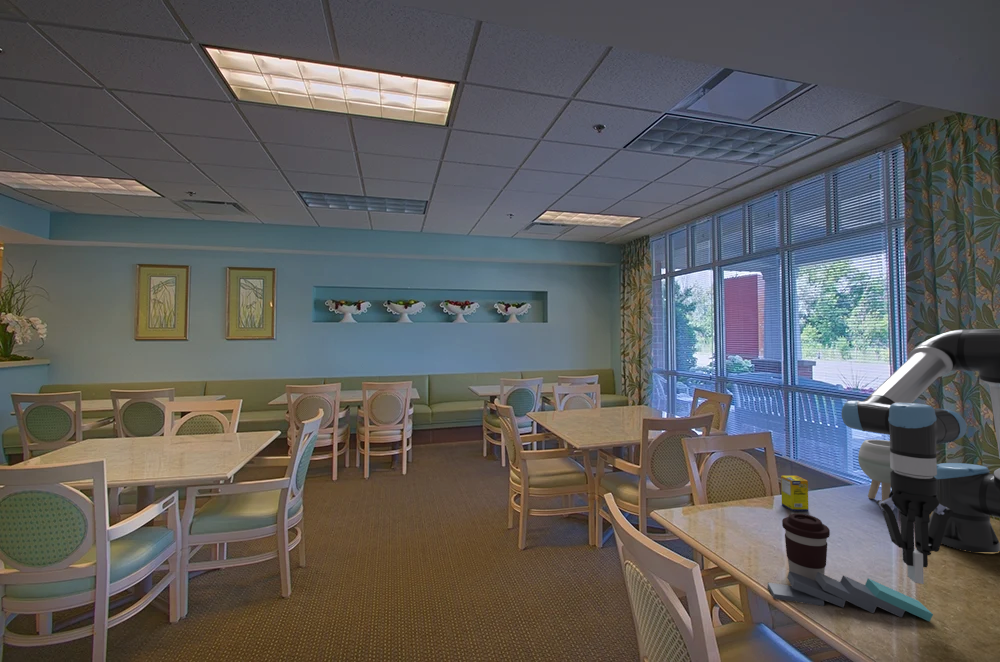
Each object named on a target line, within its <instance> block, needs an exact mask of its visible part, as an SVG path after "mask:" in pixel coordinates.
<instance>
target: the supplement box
mask: <svg viewBox="0 0 1000 662" xmlns="http://www.w3.org/2000/svg"><path fill="white" fill-rule="evenodd" d="M780 482H781V483H780V484H781V485H780V486H781V487H780V488H781V490H780V491H781V506H783V507H784V508H787V510H790V511H792V512H809V480H807V479H804V478H803V477H800V476H798V475H780Z"/></svg>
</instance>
